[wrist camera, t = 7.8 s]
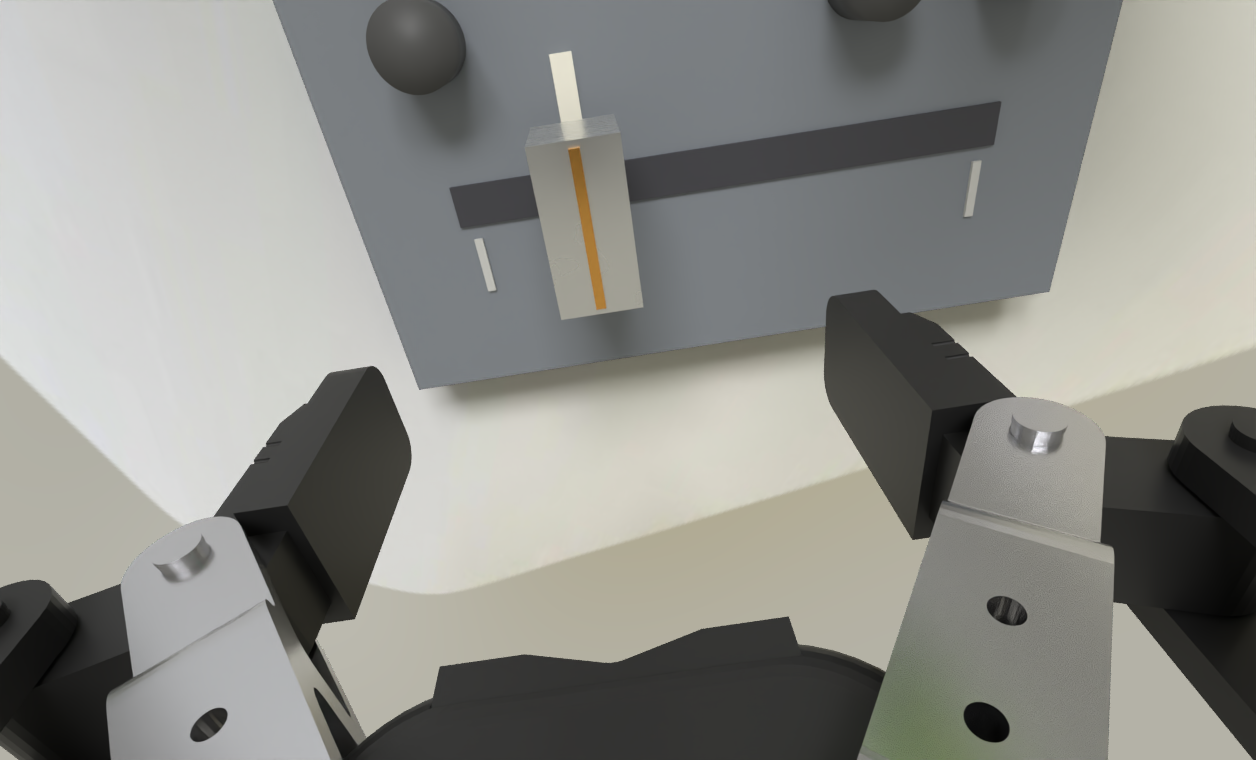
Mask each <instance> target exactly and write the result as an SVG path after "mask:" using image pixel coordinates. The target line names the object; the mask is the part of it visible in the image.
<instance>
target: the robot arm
mask: <svg viewBox="0 0 1256 760" xmlns="http://www.w3.org/2000/svg"><path fill="white" fill-rule="evenodd" d="M824 381H825V388H826V393H827V396H828V400H829V402H830V405H831V407H832V408H833V410H834V412H835V413H836V415H837V417H838V418H839V420H840V422H841V423H842V425H843V427H844V428H845V430H846V431H847V433H848V435H849V436H850V438H851V440H852V441H853V443H854V445H855V446H856V448H857V450H858V451H859V453H860V454H861V456H862V458H863V459H864V461H865V463H866V464H867V466H868V468H869V469H870V471H871V472H872V474H873V476H874V477H875V479H876V481H877V482H878V484H879V486H880V487H881V489H882V490H883V492H884V494H885V495H886V497H887V499H888V500H889V502H890V503H891V505H892V507H893V509H894V510H895V512H896V513H897V515H898V517H899V518H900V520H901V522H902V523H903V525H904V527H905V528H906V530H907V532H908V533H909V535H910V537H911V538H912V540H915V539H922V538H929V537H930V539H929V542H928V545H927V548H926V551H925V554H924V557H923V560H922V563H921V566H920V570H919V572H918V576H917V579H916V582H915V585H914V588H913V591H912V594H911V597H910V600H909V603H908V606H907V609H906V612H905V615H904V618H903V621H902V624H901V627H900V630H899V634H898V637H897V640H896V643H895V646H894V649H893V652H892V655H891V658H890V661H889V664H888V667H887V670H886V672H885V671H883V670H881V669H880V668H878V667H875V666H873V665H871V664H869V663H866V662H864V661H862V660H860V659H857V658H855V657H852V656H848V655H846V654H842V653H840V652H836V651H833V650H828V649H823V648H819V647H814V646H808V645H799V644H798V643H797V640H796V637H795V634H794V631H793V628H792V626H791V622H790V619H789V617H782V618H776V619H768V620H762V621H754V622H747V623H740V624H734V625H727V626H720V627H713V628H706V629H701V630H698V631H696V632H693V633H691V634H688V635H686V636H683V637H681V638H678V639H676V640H674V641H671V642H668V643H666V644H663V645H661V646H658V647H656V648H653V649H651V650H648V651H646V652H643V653H641V654H638V655H635V656H633V657H630V658H628V659H625V660H623V661H619V662H614V663H600V662H591V661H582V660H572V659H563V658H553V657H543V656H533V655H518V656H511V657H504V658H497V659H490V660H483V661H477V662H469V663H462V664H455V665H448V666H441V667H440V669H439V673H438V677H437V682H436V687H435V691H434V696H433V698H432V699H429V700H427V701H424V702H422V703H420V704H418V705H416V706H415V707H412V708H411V709H409V710H407V711H405V712H403V713H401V714H400V715H398V716H397V717H395V718H394V719H392V720H391V721H389V722H388V723H386V724H384V725H383V726H382V727H380V728H379V729H378V730H376V732H374V733H373V734H371V735H370V736H369V737H367V738H366V736H365V734H364V732H363V730H362V728H361V726H360V724H359V722H358V720H357V718H356V716H355V714H354V712H353V709H352V708H351V705H350V703H349V701H348V699H347V697H346V695H345V693H344V691H343V689H342V687H341V685H340V683H339V681H338V679H337V677H336V675H335V673H334V671H333V668H332V667H331V664H330V662H329V660H328V658H327V656H326V654H325V652H324V650H323V649H322V647H321V646H320V644H319V643H318V641H317V640H316V638H317V635H318V633H319V630H320V628H321V626H322V624H325V623H332V622H337V621H344V620H352V619H355V617H356V615H357V612H358V609H359V606H360V604H361V601H362V598H363V596H364V593H365V590H366V587H367V585H368V582H369V579H370V577H371V574H372V571H373V568H374V566H375V563H376V560H377V558H378V555H379V552H380V549H381V547H382V544H383V541H384V539H385V536H386V533H387V530H388V528H389V525H390V522H391V520H392V517H393V514H394V511H395V509H396V506H397V503H398V500H399V498H400V495H401V492H402V490H403V487H404V484H405V481H406V479H407V476H408V473H409V470H410V467H411V446H410V441H409V437H408V435H407V432H406V430H405V427H404V425H403V422H402V420H401V418H400V415H399V413H398V410H397V408H396V406H395V403H394V401H393V398H392V396H391V394H390V391H389V389H388V386H387V384H386V382H385V379H384V377H383V375H382V374H381V372H380V371H379V370H378V369H377V368H376V367H374V366H370V367H363V368H357V369H350V370H344V371H337V372H331V373H329V374H328V375H327V376H326V377H325V379H324V380H323V382H322V383H321V384H320V386H319V387H318V389H317V390H316V392H315V393H314V395H313V396H312V398H311V399H310V401H309V402H308V404H304V405H302V406H301V407H300V408H299V409H297V410H296V411H295V412H294V413H292V414H291V415H290V416H289V417H287V418H286V419H285V420H284V421H282V422H281V423H280V424H279V426H278V427H277V429H276V430H275V431H274V433H273V434H272V436H271V437H270V438H269V440H268V441H267V443H266V447H263V448H262V450H261V451H260V452H259V454H258V455H257V457H256V458H255V459H254V464H251V465H250V466H249V468H248V469H247V471H246V472H245V473H244V475H243V476H242V478H241V479H240V480H239V482H238V483H237V485H236V486H235V487H234V489H233V490H232V492H231V493H230V494H229V496H228V497H227V499H226V500H225V501H224V503H223V504H222V506H221V507H220V508H219V510H218V511H217V513H216V514H215V515H214V517H210V518H205V519H201V520H197V521H194V522H192V523H189V524H186V525H184V526H182V527H180V528H177V529H175V530H173V531H172V532H170V533H168V534H166V535H165V536H163V537H162V538H160V539H158V540H157V541H155V542H154V543H153V544H151V545H150V546H149V547H147V548H146V549H145V550H144V551H143V552H142V553H141V554H139V556H138V557H137V558H136V559H135V560H134V561H133V562H132V563H131V565H130V566H129V567H128V569H127V570H126V572H125V574H124V576H123V579H122V582H121V584H119V585H116V586H114V587H111V588H108V589H105V590H103V591H100V592H97V593H94V594H92V595H89V596H86V597H83V598H81V599H78V600H75V601H72V602H70V603H67V602H66V601H65V600H64V599H63V598H62V597H61V596H60V595H59V594H58V593H57V592H56V591H55V590H54V589H53V588H52V587H51V586H50V585H49V584H48V583H46V582H45V581H41V580H27V581H21V582H17V583H13V584H10V585H7V586H4V587H1V588H0V746H2V747H3V748H4V749H5V750H7V751H8V752H9V753H11V754H12V755H13V756H14V757H16V758H17V759H18V760H1108V736H1109V708H1110V707H1109V706H1110V678H1111V677H1110V676H1111V649H1112V618H1113V602H1116V603H1123V604H1127V605H1128V607H1129V608H1130V609H1131V610H1132V612H1133V613H1134V614H1135V615H1136V617H1137V618H1138V619H1139V620H1140V621H1141V623H1142V624H1143V625H1144V626H1145V627H1146V629H1147V630H1148V631H1149V632H1150V634H1151V635H1152V636H1153V637H1154V639H1155V640H1156V641H1157V642H1158V643H1159V645H1160V646H1161V647H1162V648H1163V649H1164V651H1165V652H1166V653H1167V655H1168V656H1169V657H1170V658H1171V659H1172V661H1173V662H1174V663H1175V664H1176V666H1177V667H1178V668H1179V669H1180V670H1181V672H1182V673H1183V674H1184V675H1185V677H1186V678H1187V679H1188V680H1189V681H1190V683H1191V684H1192V685H1193V686H1194V687H1195V689H1196V690H1197V691H1198V692H1199V694H1200V695H1201V696H1202V697H1203V699H1204V700H1205V701H1206V702H1207V703H1208V705H1209V706H1210V707H1211V708H1212V710H1213V711H1214V712H1215V713H1216V715H1217V716H1218V717H1219V718H1220V719H1221V721H1222V722H1223V723H1224V724H1225V726H1226V727H1227V728H1228V729H1229V730H1230V732H1231V733H1232V734H1233V735H1234V737H1235V738H1236V739H1237V740H1238V741H1239V743H1240V744H1241V745H1242V746H1243V748H1244V749H1245V750H1246V751H1247V753H1248V754H1249V755H1250V756H1251V757H1252V759H1253V760H1256V409H1255V408H1250V407H1241V406H1210V407H1205V408H1200V409H1197V410H1194V411H1192V412H1191V413H1189V414H1188V415H1187V416H1186V417H1185V418H1184V419H1183V422H1182V424H1181V426H1180V429H1179V431H1178V434H1177V436H1176V438H1175V440H1158V439H1140V438H1123V437H1109V436H1104V433H1103V431H1102V430H1101V428H1099V426H1098V425H1097V424H1096V423H1095V422H1094V421H1093V420H1091V419H1090V418H1089V417H1087V416H1086V415H1084V414H1083V413H1081V412H1079V411H1077V410H1075V409H1073V408H1070V407H1068V406H1065V405H1063V404H1059V403H1056V402H1053V401H1048V400H1044V399H1037V398H1028V397H1016V396H1015V395H1014V394H1013V393H1012V392H1011V391H1010V390H1008V389H1007V388H1006V387H1005V386H1004V385H1003V384H1002V383H1001V382H1000V381H999V380H998V379H996V378H995V377H994V376H993V375H992V374H991V373H990V372H989V371H988V370H987V369H986V368H984V367H983V366H982V365H981V364H980V363H979V362H978V361H977V360H976V359H975V358H974V357H969V353H968V352H967V351H966V350H965V349H964V348H963V347H962V346H961V345H959V344H958V343H955V342H954V339H953V338H952V337H951V336H950V335H949V334H947V333H946V332H945V331H944V330H943V329H942V328H941V327H940V326H939V325H938V324H936V323H934V322H931V321H929V320H927V319H925V318H922V317H920V316H918V315H915V314H913V313H911V312H908V313H900V312H899V311H898V310H897V309H896V308H895V307H894V306H893V305H892V304H891V303H890V302H889V301H888V300H887V299H886V298H885V297H883V296H882V295H881V294H880V293H879V292H878V291H877V290H868V291H861V292H855V293H848V294H842V295H835V296H831V297H830V298H829V300H828V303H827V308H826V331H825V359H824Z"/></svg>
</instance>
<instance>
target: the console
mask: <svg viewBox="0 0 1256 760" xmlns="http://www.w3.org/2000/svg"><path fill="white" fill-rule="evenodd" d="M1122 1H1123V0H273V3H274V5H275V8H276V11H277V13H278V16H279V19H280V21H281V24H282V26H283V29H284V32H285V34H286V37H287V40H288V42H289V45H290V48H291V50H292V53H293V56H294V58H295V61H296V64H297V66H298V69H299V72H300V74H301V77H302V80H303V82H304V85H305V88H306V90H307V93H308V96H309V98H310V101H311V103H312V106H313V109H314V111H315V114H316V117H317V119H318V122H319V125H320V127H321V130H322V133H323V135H324V138H325V141H326V143H327V146H328V149H329V151H330V154H331V157H332V159H333V162H334V165H335V167H336V170H337V173H338V175H339V178H340V180H341V183H342V186H343V188H344V191H345V194H346V196H347V199H348V202H349V204H350V207H351V210H352V212H353V215H354V218H355V220H356V223H357V226H358V228H359V231H360V234H361V236H362V239H363V242H364V244H365V247H366V250H367V252H368V255H369V257H370V260H371V263H372V265H373V268H374V271H375V273H376V276H377V279H378V281H379V284H380V287H381V289H382V292H383V295H384V297H385V300H386V303H387V305H388V308H389V311H390V313H391V316H392V319H393V321H394V324H395V327H396V329H397V332H398V334H399V337H400V340H401V342H402V345H403V348H404V350H405V353H406V356H407V358H408V361H409V364H410V366H411V369H412V372H413V374H414V377H415V380H416V382H417V385H418V388H419V390H421V389H427V388H434V387H440V386H446V385H453V384H459V383H466V382H472V381H479V380H485V379H491V378H498V377H504V376H511V375H517V374H524V373H530V372H536V371H543V370H549V369H556V368H562V367H569V366H575V365H582V364H588V363H594V362H601V361H607V360H614V359H620V358H627V357H633V356H639V355H646V354H652V353H659V352H665V351H672V350H678V349H684V348H691V347H697V346H704V345H710V344H717V343H723V342H729V341H736V340H742V339H749V338H755V337H762V336H768V335H774V334H781V333H787V332H794V331H800V330H807V329H813V328H819V327H826V308H827V303H828V300H829V298H830V297H831V296H835V295H842V294H848V293H855V292H861V291H868V290H877V291H878V292H879V293H880V294H881V295H882V296H883V297H885V298H886V299H887V300H888V301H889V302H890V303H891V304H892V305H893V306H894V307H895V308H896V309H897V310H898V311H899V312H900V313H908V312H911V313H916V312H922V311H929V310H935V309H942V308H948V307H955V306H961V305H967V304H974V303H980V302H987V301H993V300H1000V299H1006V298H1012V297H1019V296H1025V295H1032V294H1038V293H1045V292H1049V290H1050V287H1051V283H1052V279H1053V275H1054V271H1055V267H1056V263H1057V259H1058V255H1059V251H1060V247H1061V243H1062V239H1063V235H1064V231H1065V227H1066V223H1067V219H1068V215H1069V211H1070V207H1071V203H1072V199H1073V195H1074V191H1075V187H1076V184H1077V180H1078V176H1079V172H1080V168H1081V164H1082V160H1083V156H1084V152H1085V148H1086V144H1087V140H1088V136H1089V132H1090V128H1091V124H1092V120H1093V116H1094V112H1095V108H1096V104H1097V100H1098V96H1099V92H1100V88H1101V84H1102V80H1103V77H1104V73H1105V69H1106V65H1107V61H1108V57H1109V53H1110V49H1111V45H1112V41H1113V37H1114V33H1115V29H1116V25H1117V21H1118V17H1119V13H1120V9H1121V5H1122ZM612 114H614V117H615V119H616V122H617V125H618V127H619V130H620V133H621V141H622V149H623V156H624V164H625V171H626V179H627V186H628V194H629V201H630V209H631V217H632V224H633V232H634V239H635V247H636V254H637V262H638V270H639V277H640V285H641V292H642V300H643V307H642V308H636V309H629V310H623V311H617V312H610V313H604V314H597V315H591V316H584V317H578V318H572V319H565V320H561V316H560V311H559V307H558V302H557V297H556V293H555V288H554V283H553V279H552V274H551V269H550V265H549V260H548V255H547V251H546V246H545V241H544V237H543V232H542V227H541V222H540V218H539V213H538V208H537V204H536V199H535V194H534V190H533V185H532V180H531V176H530V171H529V166H528V162H527V157H526V152H525V148H524V147H525V144H526V141H527V138H528V135H529V132H530V129H531V127H535V126H542V125H548V124H554V123H561V122H567V121H573V120H580V119H586V118H592V117H599V116H605V115H612Z"/></svg>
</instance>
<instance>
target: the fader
mask: <svg viewBox="0 0 1256 760" xmlns="http://www.w3.org/2000/svg"><path fill="white" fill-rule="evenodd" d="M524 148H525V152H526V157H527V162H528V166H529V171H530V176H531V180H532V185H533V190H534V194H535V199H536V204H537V208H538V213H539V218H540V222H541V227H542V232H543V237H544V241H545V246H546V251H547V255H548V260H549V265H550V269H551V274H552V279H553V283H554V288H555V293H556V297H557V302H558V307H559V311H560V316H561V320H565V319H572V318H578V317H584V316H591V315H597V314H604V313H610V312H617V311H623V310H629V309H636V308H642V307H643V300H642V292H641V285H640V277H639V270H638V262H637V254H636V247H635V239H634V232H633V224H632V217H631V209H630V201H629V194H628V186H627V179H626V171H625V164H624V156H623V149H622V141H621V133H620V130H619V127H618V125H617V122H616V119H615V117H614V114H612V115H605V116H599V117H592V118H586V119H580V120H573V121H567V122H561V123H554V124H548V125H542V126H535V127H531V129H530V132H529V135H528V138H527V141H526V144H525V147H524Z"/></svg>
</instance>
